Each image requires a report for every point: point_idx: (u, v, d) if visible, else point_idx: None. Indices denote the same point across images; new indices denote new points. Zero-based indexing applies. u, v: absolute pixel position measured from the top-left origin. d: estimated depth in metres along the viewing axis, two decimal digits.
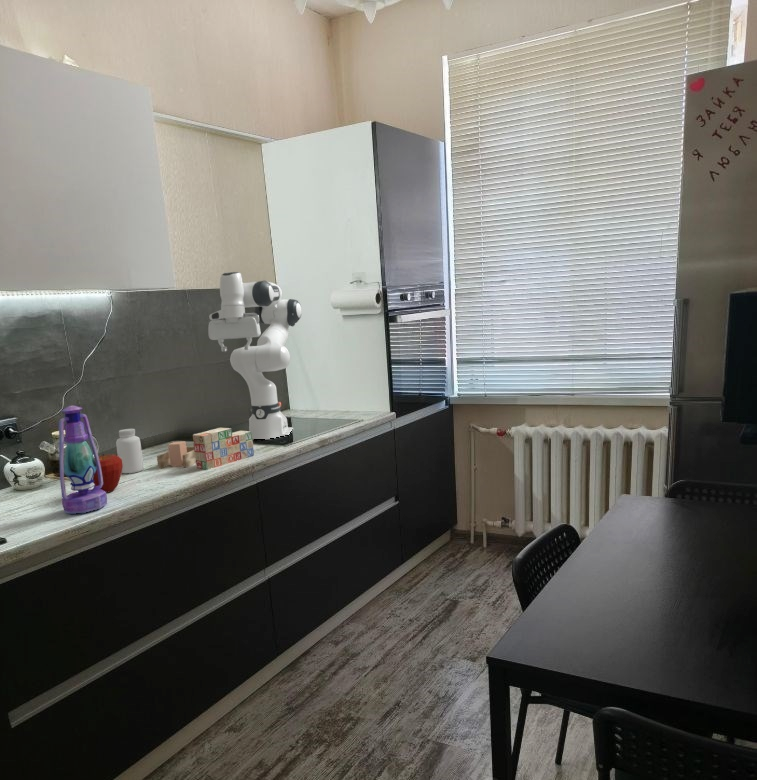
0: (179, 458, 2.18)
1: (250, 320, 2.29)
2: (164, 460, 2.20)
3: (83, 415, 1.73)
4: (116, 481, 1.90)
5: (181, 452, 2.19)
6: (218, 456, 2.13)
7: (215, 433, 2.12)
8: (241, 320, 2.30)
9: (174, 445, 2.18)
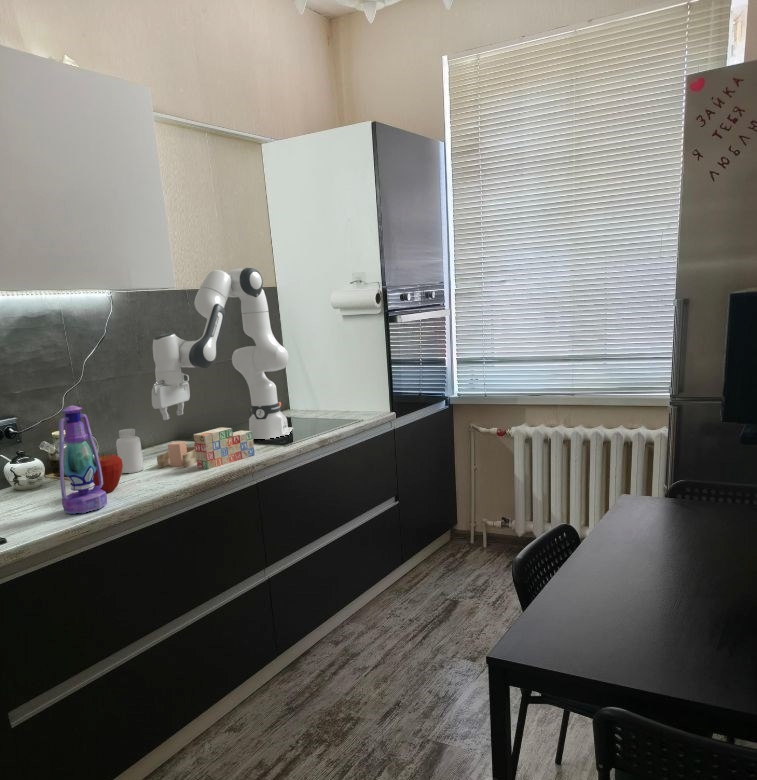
0: (179, 458, 2.18)
1: None
2: (164, 460, 2.20)
3: (83, 415, 1.73)
4: (116, 481, 1.90)
5: (181, 452, 2.19)
6: (219, 456, 2.14)
7: (216, 433, 2.13)
8: None
9: (174, 445, 2.18)
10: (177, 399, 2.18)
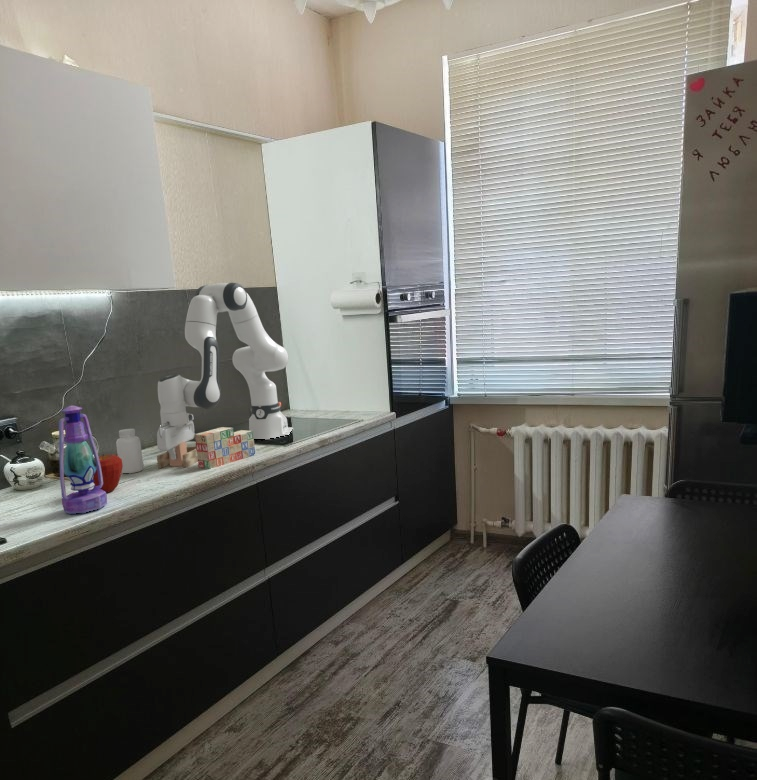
0: (179, 458, 2.18)
1: None
2: (164, 460, 2.20)
3: (83, 415, 1.73)
4: (116, 481, 1.90)
5: (181, 452, 2.19)
6: (220, 455, 2.14)
7: (217, 432, 2.13)
8: None
9: None
10: (182, 439, 2.20)
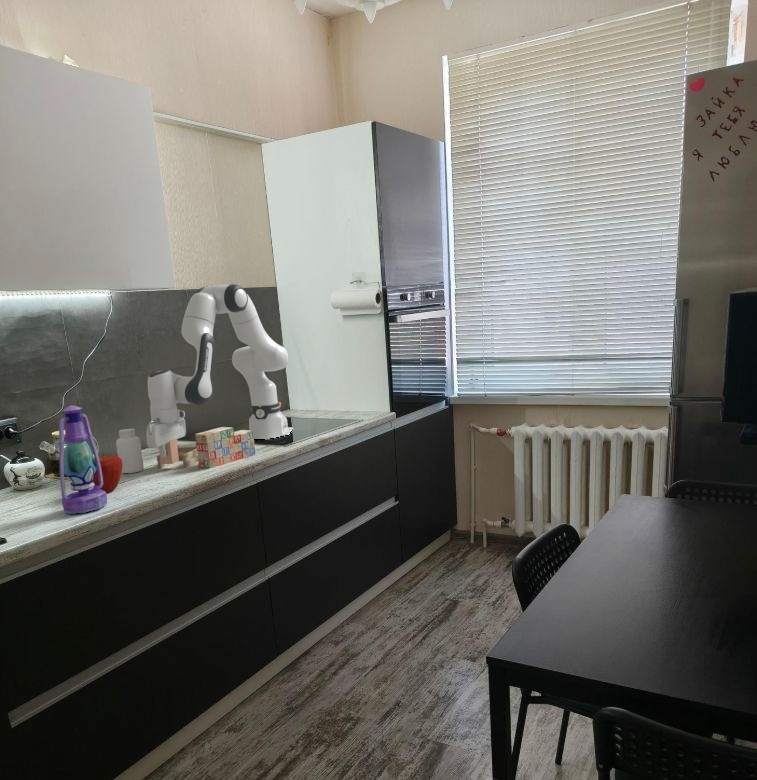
0: (169, 456, 2.12)
1: None
2: None
3: (83, 415, 1.73)
4: (116, 481, 1.90)
5: (172, 450, 2.13)
6: (221, 455, 2.15)
7: (217, 432, 2.14)
8: None
9: None
10: (172, 436, 2.15)
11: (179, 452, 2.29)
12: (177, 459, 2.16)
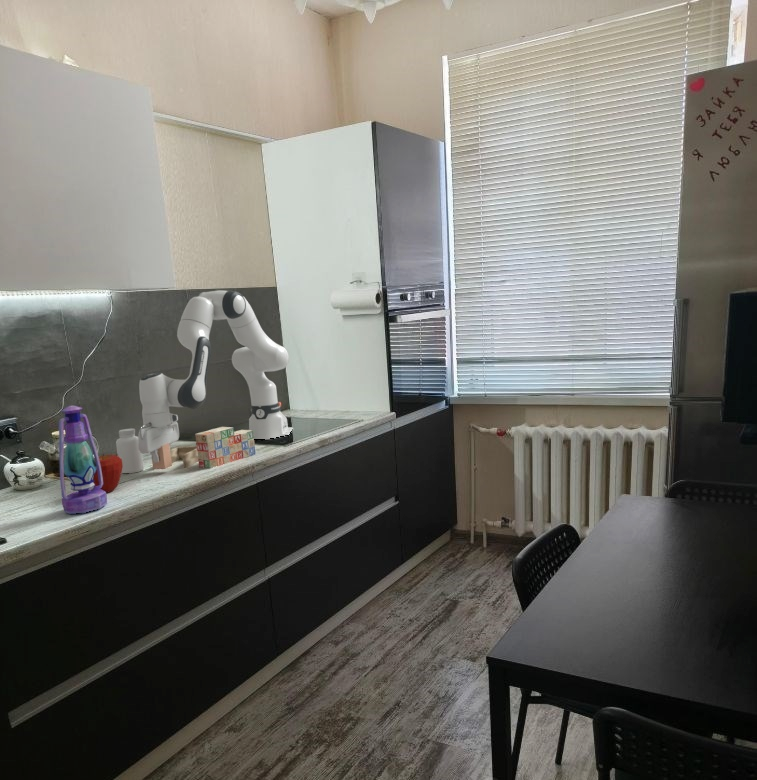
0: (162, 461, 2.07)
1: None
2: None
3: (83, 415, 1.73)
4: (116, 481, 1.90)
5: (165, 455, 2.08)
6: (221, 455, 2.15)
7: (218, 432, 2.14)
8: None
9: None
10: (165, 441, 2.10)
11: (179, 452, 2.29)
12: (170, 464, 2.11)
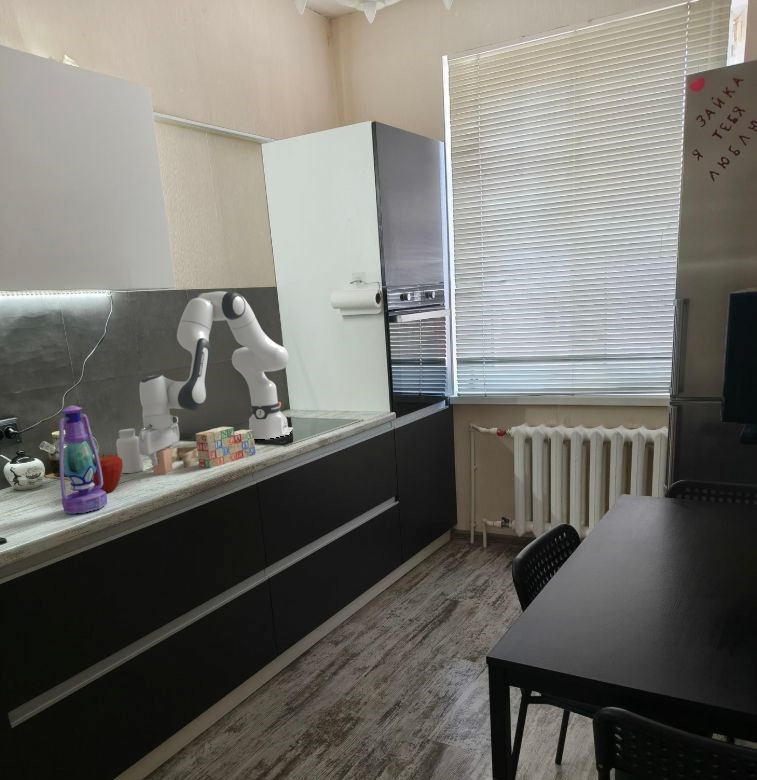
0: (163, 466, 2.08)
1: None
2: None
3: (83, 415, 1.73)
4: (116, 481, 1.90)
5: (165, 460, 2.08)
6: (221, 455, 2.15)
7: (218, 432, 2.14)
8: None
9: (158, 452, 2.07)
10: (165, 443, 2.10)
11: (179, 452, 2.29)
12: (171, 469, 2.11)
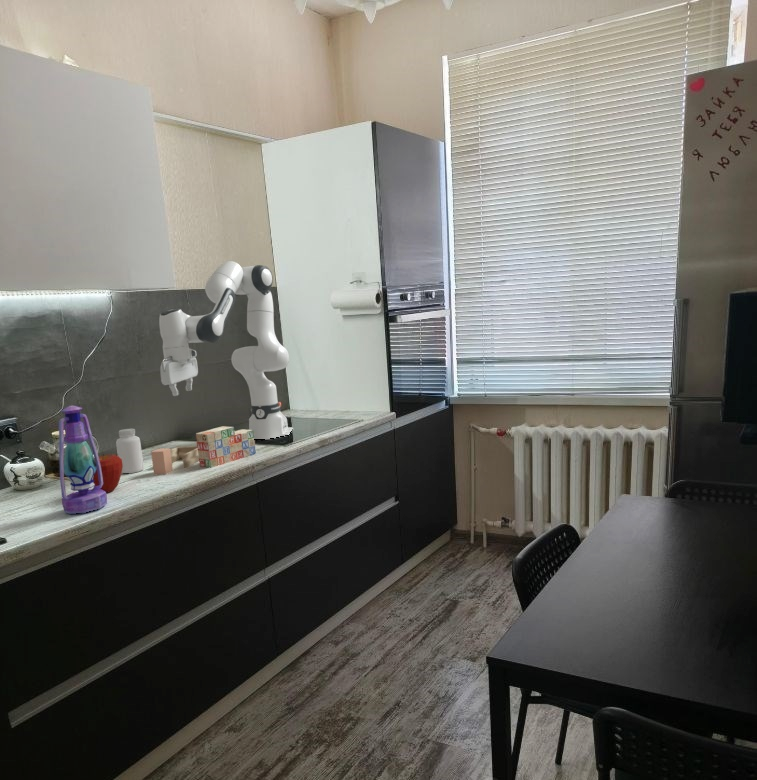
0: (163, 466, 2.08)
1: None
2: None
3: (83, 415, 1.73)
4: (116, 481, 1.90)
5: (165, 460, 2.08)
6: (221, 454, 2.16)
7: (218, 432, 2.15)
8: None
9: (157, 452, 2.07)
10: (185, 375, 2.18)
11: (179, 452, 2.29)
12: (171, 469, 2.11)
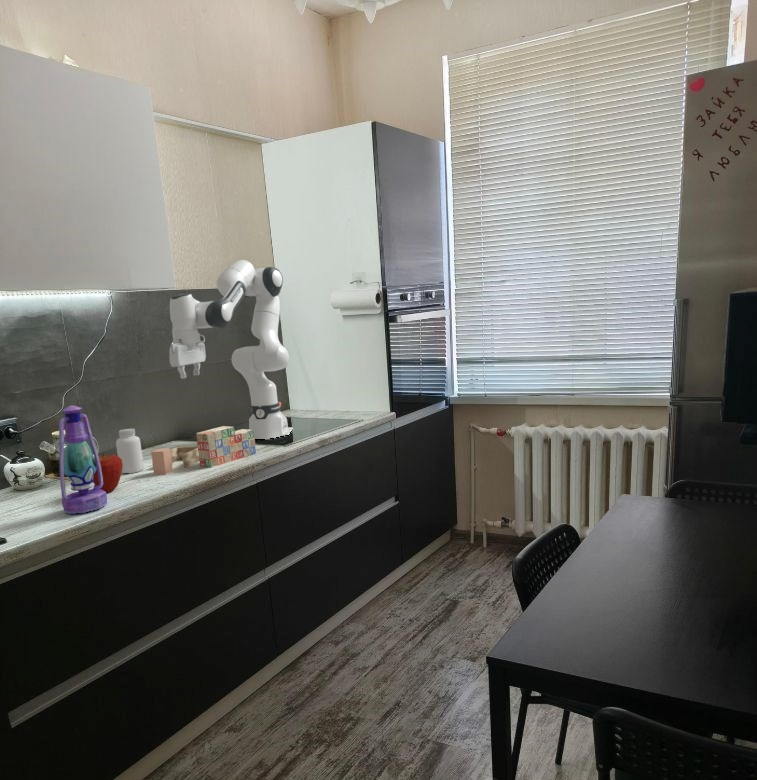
0: (163, 466, 2.08)
1: None
2: None
3: (83, 415, 1.73)
4: (116, 481, 1.90)
5: (165, 460, 2.08)
6: (221, 454, 2.16)
7: (218, 431, 2.15)
8: None
9: (157, 452, 2.07)
10: (193, 359, 2.22)
11: (179, 452, 2.29)
12: (171, 469, 2.11)
